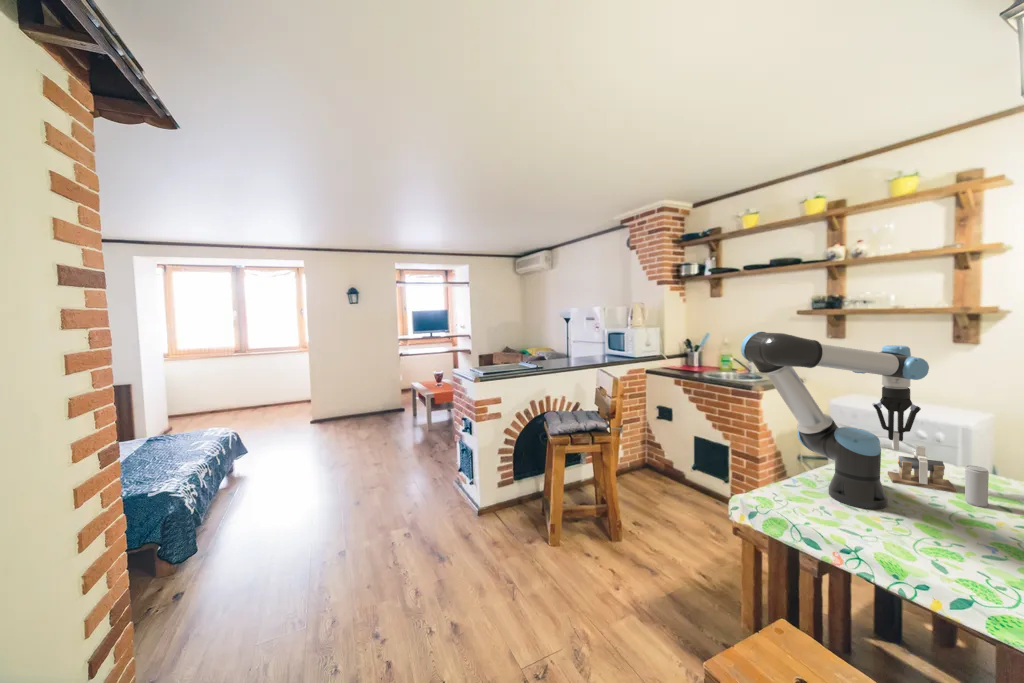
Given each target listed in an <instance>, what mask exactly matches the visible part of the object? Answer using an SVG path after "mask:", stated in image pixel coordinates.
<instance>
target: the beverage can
mask: <svg viewBox="0 0 1024 683" xmlns="http://www.w3.org/2000/svg"><path fill="white" fill-rule="evenodd" d="M964 472H965V473H964V474H965V476H964V477H965V478H964V480H965V481H964V501H965V502H966V503H967V504H969V505H970V506H974V507H980V508H985V507H988V505H989V475H990V474H989V470H988V469H987V468H985V467H982V466H978V465H971V464H970V465H969V464H968V465H966V466H965V470H964Z"/></svg>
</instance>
